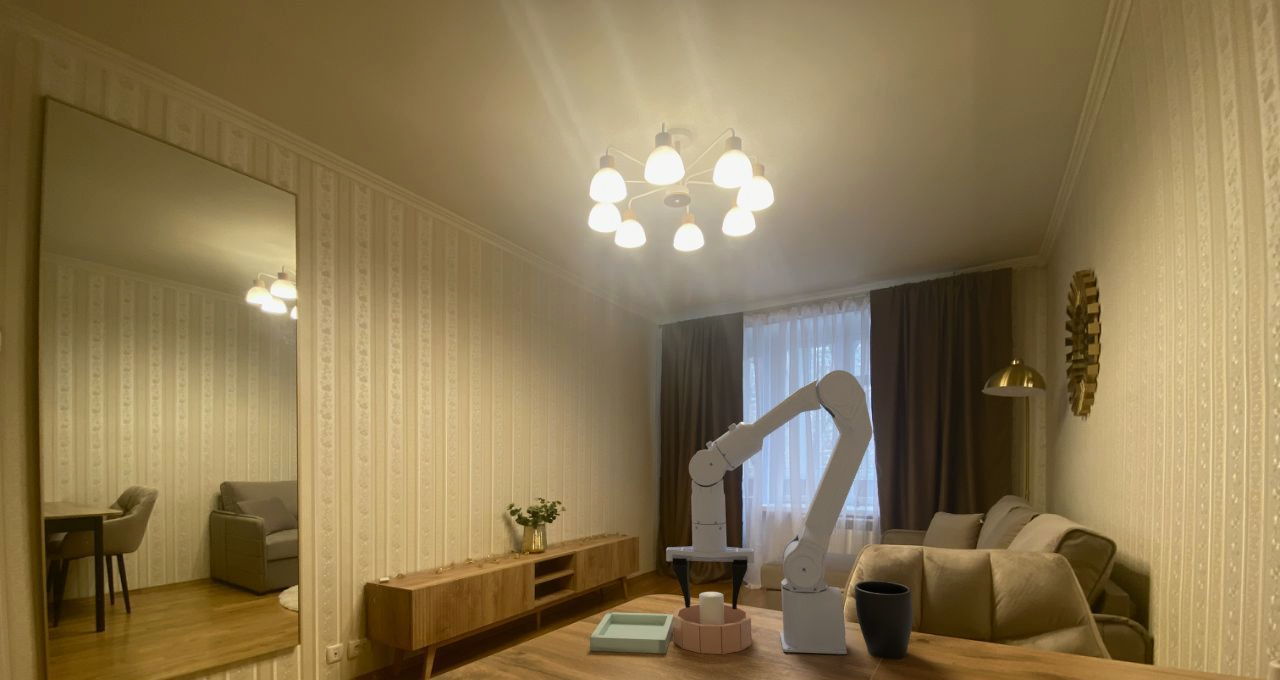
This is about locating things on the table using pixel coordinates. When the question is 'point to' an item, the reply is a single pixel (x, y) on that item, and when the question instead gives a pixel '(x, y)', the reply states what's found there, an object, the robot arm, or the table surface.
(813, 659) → the table surface
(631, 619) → the tray
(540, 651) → the table surface
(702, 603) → the peg
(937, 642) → the table surface
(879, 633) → the mug
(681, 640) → the segmented salmon ring
